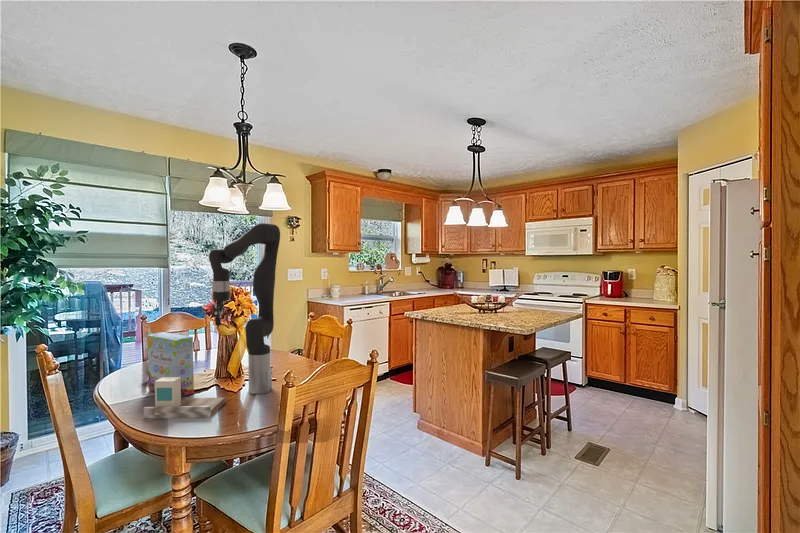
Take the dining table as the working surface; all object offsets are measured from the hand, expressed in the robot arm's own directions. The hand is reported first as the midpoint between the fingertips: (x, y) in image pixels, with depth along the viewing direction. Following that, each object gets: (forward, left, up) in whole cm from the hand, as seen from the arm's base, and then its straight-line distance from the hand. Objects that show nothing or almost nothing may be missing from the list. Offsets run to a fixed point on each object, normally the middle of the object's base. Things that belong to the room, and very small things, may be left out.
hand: (221, 323), depth 186 cm
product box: (+6, +37, -26) cm, 45 cm away
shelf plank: (0, +34, -28) cm, 44 cm away
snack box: (+17, +14, -28) cm, 36 cm away
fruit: (+33, -6, -28) cm, 44 cm away
